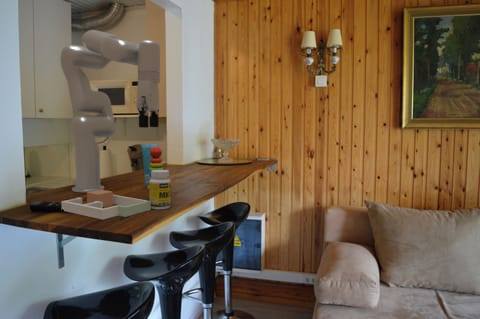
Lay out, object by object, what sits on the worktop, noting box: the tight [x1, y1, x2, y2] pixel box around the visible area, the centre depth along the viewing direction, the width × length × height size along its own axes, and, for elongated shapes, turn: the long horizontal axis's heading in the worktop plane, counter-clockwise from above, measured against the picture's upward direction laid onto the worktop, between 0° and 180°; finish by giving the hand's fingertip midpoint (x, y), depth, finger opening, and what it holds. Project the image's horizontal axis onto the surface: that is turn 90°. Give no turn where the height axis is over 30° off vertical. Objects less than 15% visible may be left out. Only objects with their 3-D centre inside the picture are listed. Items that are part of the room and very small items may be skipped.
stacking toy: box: [147, 146, 164, 190], centre depth 158 cm, size 8×8×19 cm
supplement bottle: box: [148, 169, 172, 210], centre depth 125 cm, size 7×7×13 cm
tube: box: [140, 143, 159, 187], centre depth 168 cm, size 7×5×19 cm, turn 109°
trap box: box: [61, 194, 152, 221], centre depth 121 cm, size 24×17×3 cm
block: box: [86, 189, 114, 208], centre depth 126 cm, size 6×6×5 cm
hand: (149, 127), depth 128 cm, fingers open, 9 cm apart
